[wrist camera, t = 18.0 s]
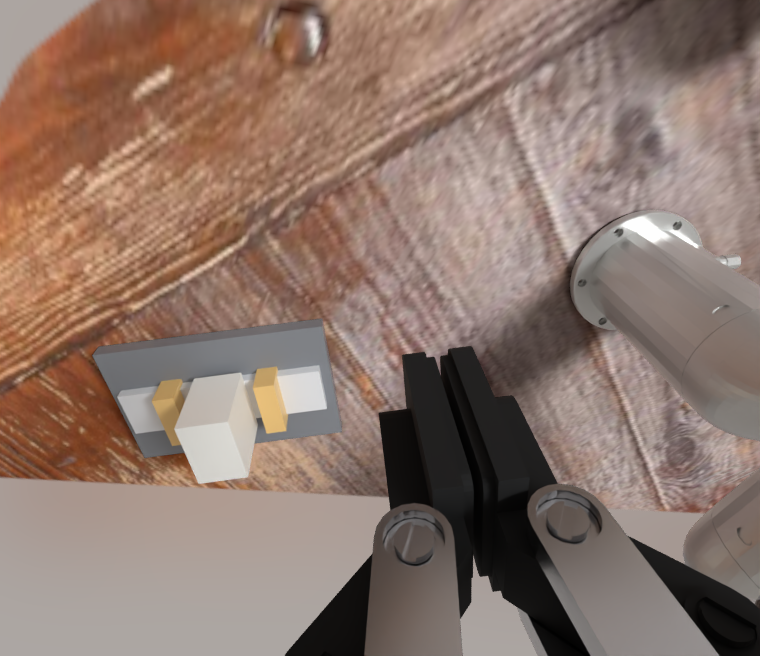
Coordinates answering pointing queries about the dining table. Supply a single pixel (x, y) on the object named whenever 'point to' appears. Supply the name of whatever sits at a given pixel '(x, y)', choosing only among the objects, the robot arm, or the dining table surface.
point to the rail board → (219, 357)
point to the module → (218, 428)
